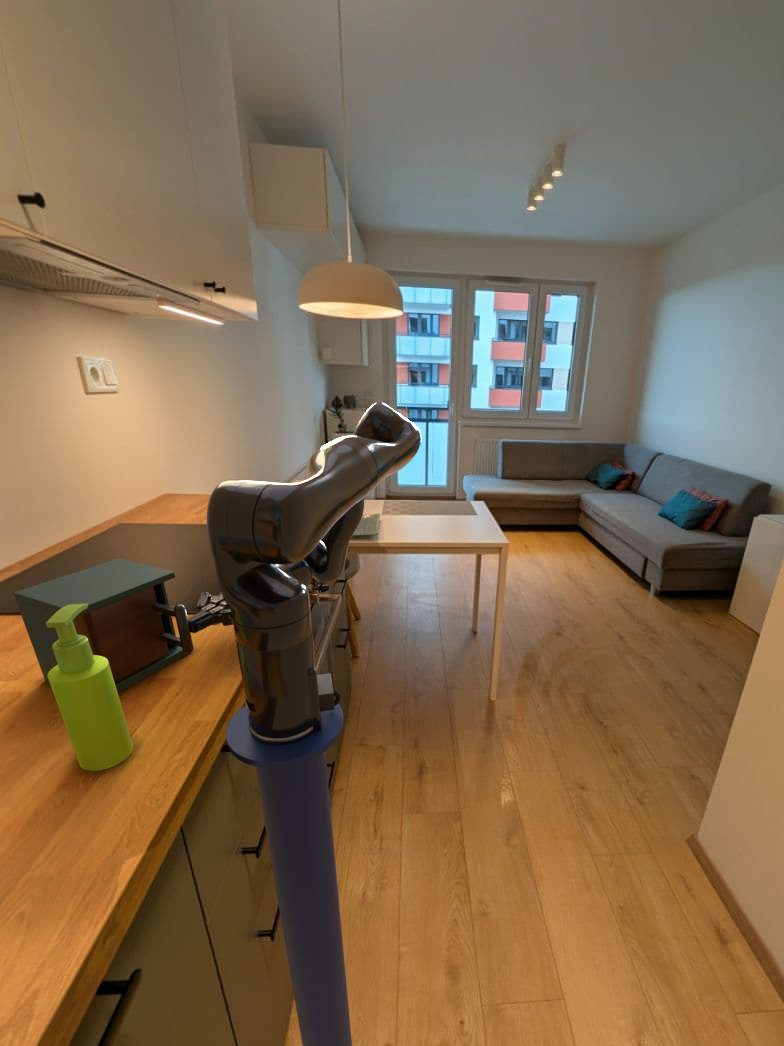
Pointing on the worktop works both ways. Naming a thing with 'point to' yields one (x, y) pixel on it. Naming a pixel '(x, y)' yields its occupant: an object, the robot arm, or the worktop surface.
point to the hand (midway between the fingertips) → (188, 627)
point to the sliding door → (136, 633)
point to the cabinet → (92, 607)
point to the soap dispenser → (87, 696)
